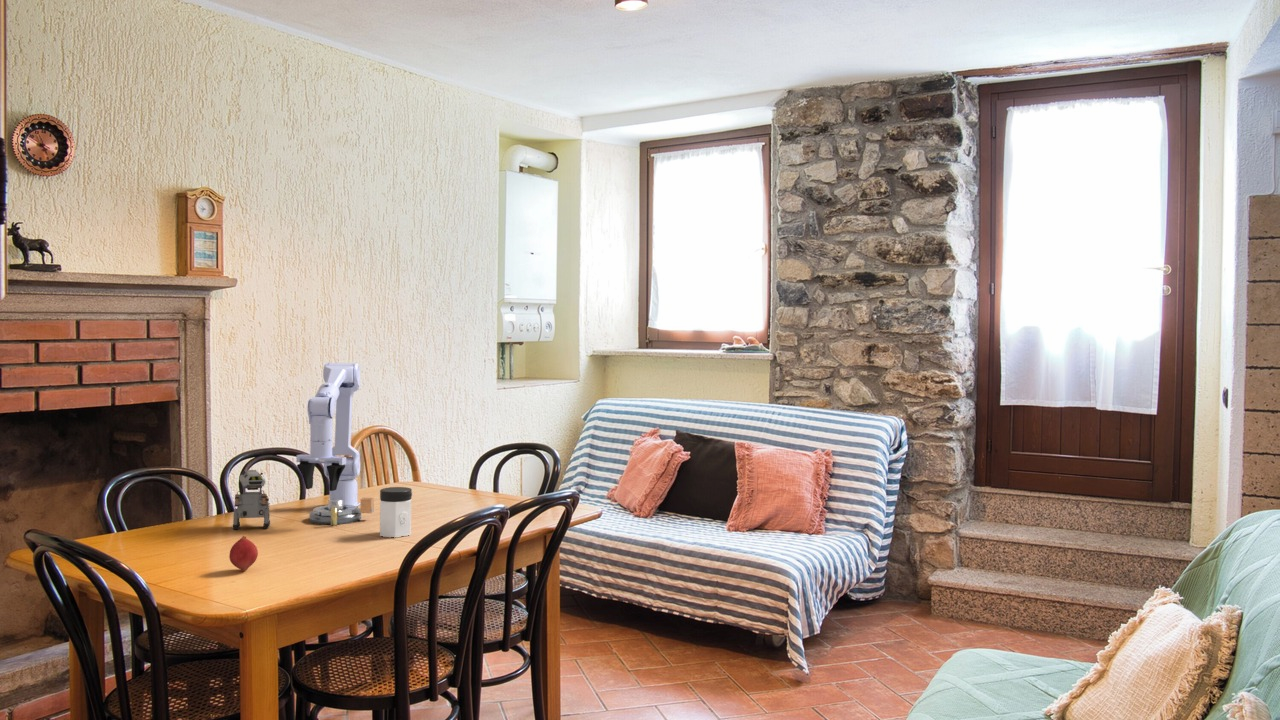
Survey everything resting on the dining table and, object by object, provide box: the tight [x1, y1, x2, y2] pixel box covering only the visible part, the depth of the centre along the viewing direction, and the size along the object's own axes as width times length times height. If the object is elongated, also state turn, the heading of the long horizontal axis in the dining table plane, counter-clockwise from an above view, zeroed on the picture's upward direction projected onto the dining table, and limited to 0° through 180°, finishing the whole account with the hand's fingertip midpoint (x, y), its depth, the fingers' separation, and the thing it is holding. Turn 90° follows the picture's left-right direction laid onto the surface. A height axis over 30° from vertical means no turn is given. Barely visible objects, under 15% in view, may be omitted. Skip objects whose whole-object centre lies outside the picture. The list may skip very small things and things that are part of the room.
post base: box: [308, 499, 362, 525], centre depth 259 cm, size 14×14×6 cm
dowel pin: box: [330, 508, 338, 527], centre depth 251 cm, size 2×2×5 cm
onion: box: [228, 534, 259, 572], centre depth 203 cm, size 6×6×8 cm
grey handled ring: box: [312, 497, 375, 516], centre depth 259 cm, size 16×12×4 cm
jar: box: [379, 486, 413, 539], centre depth 242 cm, size 9×8×12 cm
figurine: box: [232, 469, 271, 531], centre depth 248 cm, size 9×12×15 cm
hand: (321, 489), depth 251 cm, fingers open, 7 cm apart
